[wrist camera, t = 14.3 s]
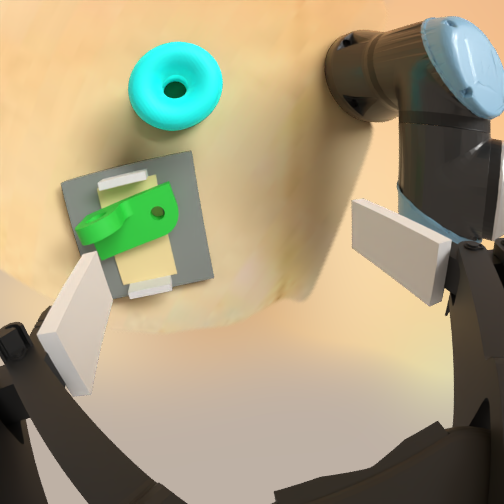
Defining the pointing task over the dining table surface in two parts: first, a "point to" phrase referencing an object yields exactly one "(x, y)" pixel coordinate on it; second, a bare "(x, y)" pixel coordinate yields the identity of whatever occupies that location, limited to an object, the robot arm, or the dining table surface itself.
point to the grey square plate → (174, 243)
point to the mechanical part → (130, 221)
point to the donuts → (175, 70)
